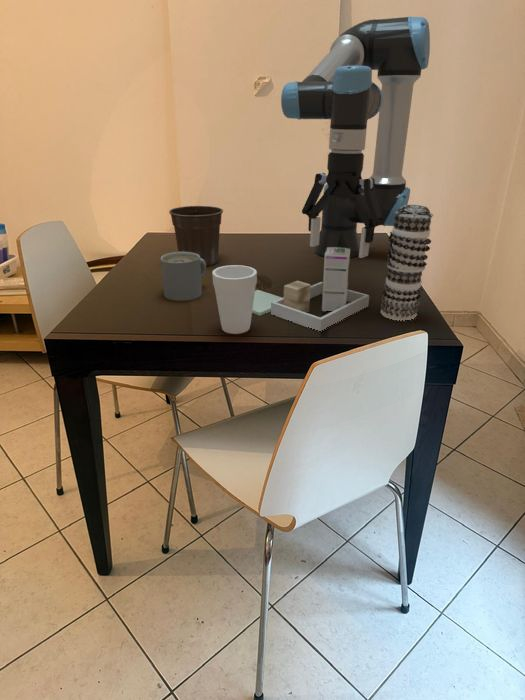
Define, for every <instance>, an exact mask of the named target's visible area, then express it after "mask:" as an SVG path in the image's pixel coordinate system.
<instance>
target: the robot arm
mask: <svg viewBox="0 0 525 700" xmlns="http://www.w3.org/2000/svg"><path fill="white" fill-rule="evenodd" d="M430 32H431V31H430V25H429V22H428V20H427V19H426V18H425V17H423V16H422V17H421V16H405V17H392V18H390V17H389V18H379V19H375V18H374V19H368V20H364V21H362V22H359V23H357V24H355V25H352V26H351V27H350V28H348V29H346V30H345V31H344V32H341V34H340V35H339V36H338V37H336V38H335V39H334V41H333V42H332V44H331V46H330V49H329V52H328V53H327V54H326V56H324V57H323V58H322V59H321V61H320V62H319V63H318V64H317V65H316V66H314V68H313V69H312V70H311V72H309V74H308V75H307V76H306V77H305V78H304V79H303V80H302V81H293V82H292V81H291V82H287V83H286V84H285V85H284V86H283V88H282V91H281V96H280V103H281V110H282V114H283V115H284V117H285V118H287V119H294V120H298V121H299V120H330V126H329V141H328V149H329V150H331V152H329V153H328V154H327V166H326V167H327V170H328V171H327V172H328V173H327V174H326V173H325V172H321V173H320V172H319V173H316V174H315V177H314V183H313V185H312V187H311V189H310V191H309V192H310V193H308V194H309V195H308V196H307V197H306V198H307V199H306V200H305V203H304V205H303V207H302V210H301V213H302V214H303V215H306V216H307V217H308V229H307V230H308V232H310V237H309V247H311V248H313V247H314V253H315V254H316V255H318V256H321V257H325V252H326V250H327V247H343V248H349V249H350V258H355V257H358V258H360V259H363V258H366V257H368V256H369V251H370V250H369V249H370V243H373V241H374V237H375V235H374V234H375V228H376V227H379V226H383V227H393V226H394V223H395V215H396V214H395V212H397V211H398V210H399V209H400V208H401V207H402V206H404V205H409V204H408V203H409V199H410V194H411V188H409V186H407V180H406V179H405V177H403V168H404V163H405V162H404V160H405V153H406V145H407V139H408V137H407V136H408V130H409V129H408V128H409V122H410V113H411V107H412V101H413V100H412V99H413V91H414V85H415V83H416V82H417V81H418V80H419V79H420V78H421V76H422V75H421V74H422V70H425V69H427V68H428V66H429V61H430V50H431V45H430V44H431V37H430V35H431V33H430ZM373 71H377V75H376V77H377V79H378V81H380V83H381V88H380V87H379V86H378V85H377V84H376V83H375V82H373ZM376 115H378V118H377V119H378V121H377V132H376V139H375V140H376V141H375V149H374V150H375V151H374V160H373V167H372V168H373V171H372V174H371V176H370V177H368V178H365V179H364V178H362V172H363V169H364V159H365V154H364V153H363V152H362V151H364V150H365V149H366V140H367V138H366V137H367V127H368V120H370V119H372V118H374V117H375V116H376ZM322 191H323V195H321V194H322ZM320 196H321V197H320ZM319 197H320V198H319ZM320 213H321V217H319V216H320ZM358 224H364V226H363V227H361V232H360V233H361V234H360V240H359V236H358V230H357V229H358V226H357V225H358Z"/></svg>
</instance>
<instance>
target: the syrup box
mask: <svg viewBox="0 0 525 700" xmlns="http://www.w3.org/2000/svg"><path fill="white" fill-rule="evenodd" d="M323 257H324V256H323ZM350 259H351V257H350V249H349V248H343V247H327V250H326V252H325V257H324V263H323V275H322V276H323V280H322V282H323V294H322V298H321V311H322V312H326V311H332V312H333V311H335V310H337V309H339V308H341V307H343V306H345V305H347V303H348V302H347V290H348V288H349V278H350V277H349V274H350Z"/></svg>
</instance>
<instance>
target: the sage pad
mask: <svg viewBox="0 0 525 700" xmlns="http://www.w3.org/2000/svg"><path fill="white" fill-rule="evenodd" d="M281 298H283V297H281V296H278V295H275V294H272V293H269V292H265V291H263V290H260V289H255V294H254V301H253V309H252V314H255V315H256V316H259V317H261V316H264V315H265V313H266V314H268V313H269V312H270V313H271V302H273V301H276V300H278V299H281Z"/></svg>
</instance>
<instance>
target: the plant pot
mask: <svg viewBox="0 0 525 700" xmlns="http://www.w3.org/2000/svg"><path fill="white" fill-rule="evenodd" d="M168 212H169V214H170V216H171V223H172V225H173V227H174V234H175V240H176V245H177V252H192V253H196V254H198V255H199V256H200V258H202V259H203V260H204V261H205V263H206V267H209V266H212V265H216V264H217V263H218V262H219V247H220V243H219V242H220V230H221V228H220V227H221V224H222V216H223V215H222V214H223V213H224V209H222V208H220V207H217V206H212V205H210V206H209V205H187V206H185V205H184V206H179V207H174V208H172V209H169V211H168Z"/></svg>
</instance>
